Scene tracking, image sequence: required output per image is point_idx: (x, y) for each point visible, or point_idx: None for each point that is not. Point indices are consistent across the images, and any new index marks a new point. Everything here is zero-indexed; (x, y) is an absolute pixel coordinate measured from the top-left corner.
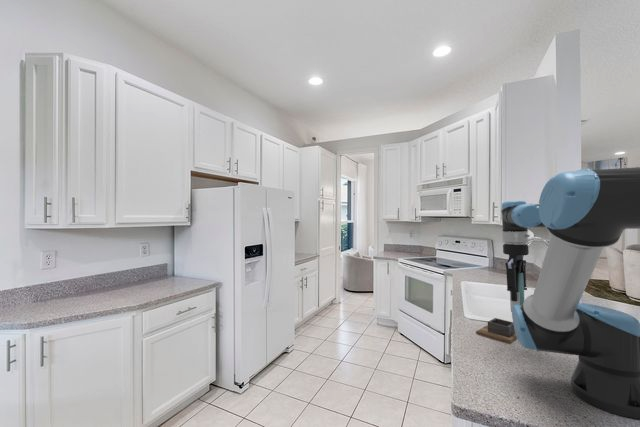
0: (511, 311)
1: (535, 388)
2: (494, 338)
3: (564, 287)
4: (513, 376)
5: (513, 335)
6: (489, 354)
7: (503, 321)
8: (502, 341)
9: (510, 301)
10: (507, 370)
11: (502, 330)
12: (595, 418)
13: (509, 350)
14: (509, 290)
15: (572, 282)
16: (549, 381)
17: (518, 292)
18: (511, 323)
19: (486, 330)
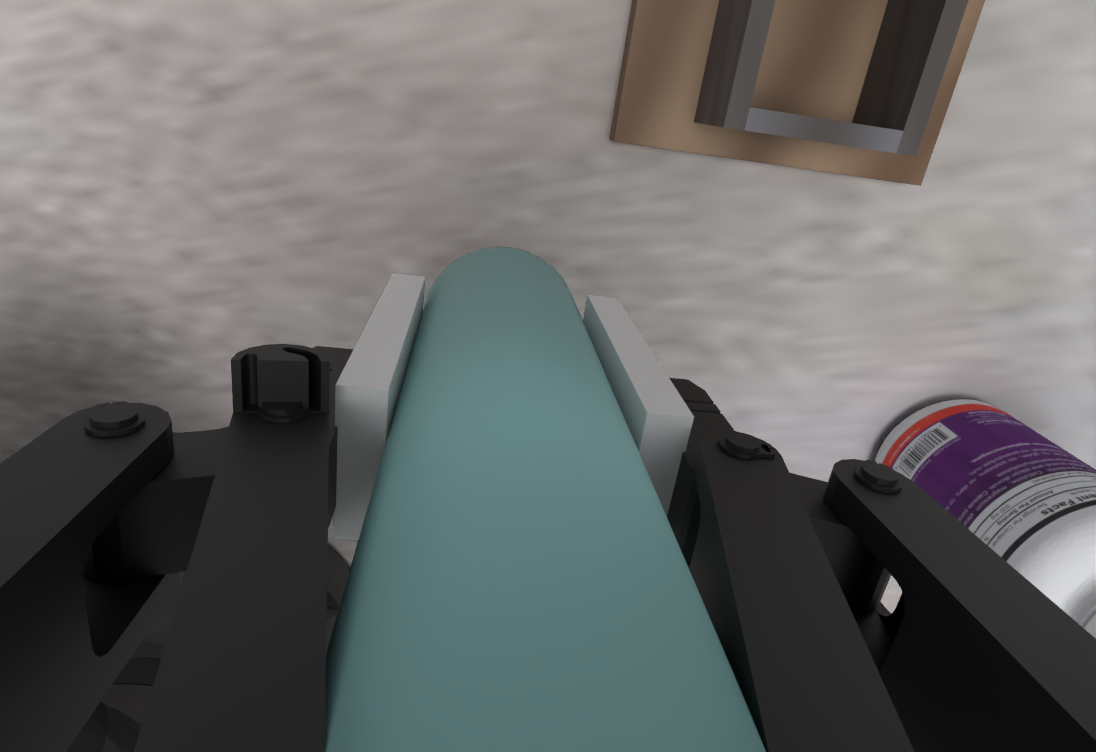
0: (457, 261)
1: (12, 382)
2: (634, 3)
3: None
4: (42, 266)
5: (777, 141)
6: (256, 49)
7: (930, 31)
8: (620, 78)
9: (373, 311)
10: (94, 220)
11: (723, 61)
12: None
13: (471, 162)
14: (245, 404)
15: None
16: (176, 423)
17: (333, 532)
18: (902, 117)
19: None
